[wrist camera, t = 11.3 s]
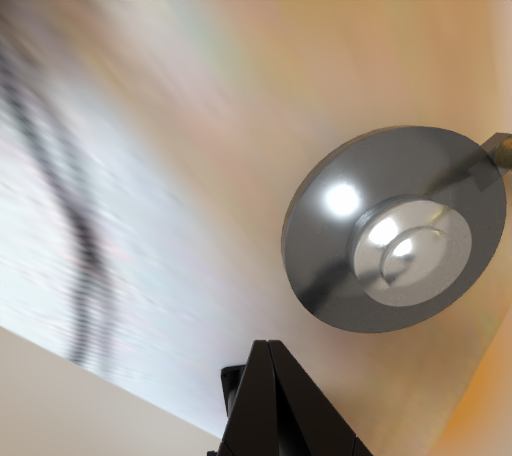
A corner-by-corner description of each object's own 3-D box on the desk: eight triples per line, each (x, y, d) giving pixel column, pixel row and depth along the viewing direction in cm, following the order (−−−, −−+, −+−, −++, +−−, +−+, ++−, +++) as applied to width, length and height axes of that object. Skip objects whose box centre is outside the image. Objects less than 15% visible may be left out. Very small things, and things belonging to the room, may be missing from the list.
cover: (384, 304, 21) (406, 332, 18) (324, 248, 18) (339, 271, 16) (466, 240, 19) (503, 261, 17) (411, 170, 17) (444, 181, 14)
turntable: (362, 347, 24) (415, 442, 17) (236, 242, 19) (240, 316, 12) (545, 212, 21) (703, 264, 14) (447, 38, 16) (621, -17, 9)
